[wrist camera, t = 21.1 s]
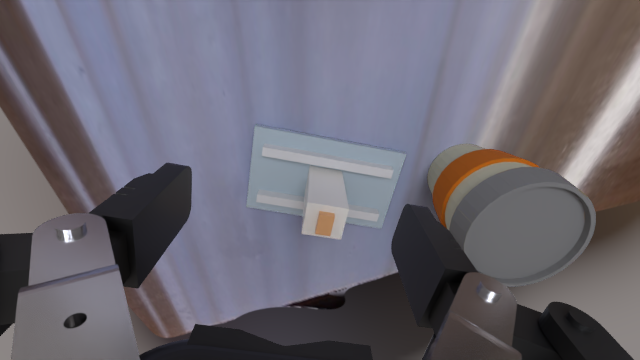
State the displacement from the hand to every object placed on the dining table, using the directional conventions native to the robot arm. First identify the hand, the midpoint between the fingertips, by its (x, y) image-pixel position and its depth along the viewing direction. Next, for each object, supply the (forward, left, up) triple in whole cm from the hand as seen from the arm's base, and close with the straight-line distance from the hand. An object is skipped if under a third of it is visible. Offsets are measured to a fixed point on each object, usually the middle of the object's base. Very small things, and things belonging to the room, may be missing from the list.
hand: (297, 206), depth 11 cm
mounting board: (+9, -8, -28) cm, 31 cm away
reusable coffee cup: (+23, +5, -28) cm, 37 cm away
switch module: (+9, -8, -27) cm, 30 cm away
